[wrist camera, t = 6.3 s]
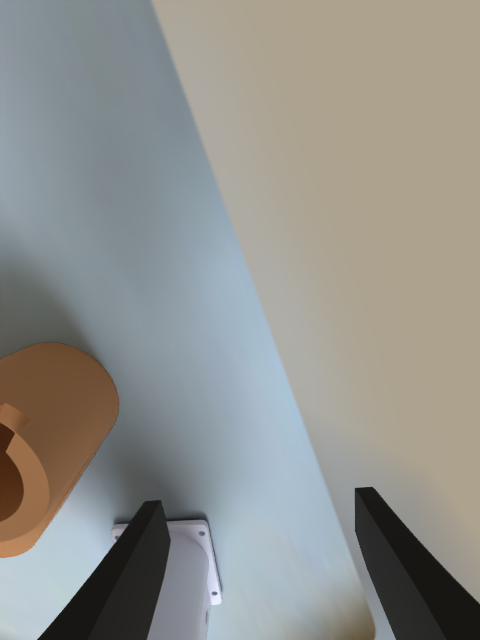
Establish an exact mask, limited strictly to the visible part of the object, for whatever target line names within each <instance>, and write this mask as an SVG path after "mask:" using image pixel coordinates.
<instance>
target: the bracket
mask: <svg viewBox="0 0 480 640" xmlns="http://www.w3.org/2000/svg"><path fill="white" fill-rule="evenodd" d="M118 411H119V398H118V393H117V390H116V387H115V385H114V382H113V380H112V379H111V377H110V375H109V374H108V373H107V371H106V370H105V369H104V368H103V366H102V365H101V364H100V363H98V362H97V361H96V360H95V359H94V358H93V357H91V356H89V355H88V354H86V353H84V352H83V351H81V350H79V349H77V348H75V347H72V346H69V345H65V344H60V343H38V344H34V345H31V346H28V347H26V348H24V349H21V350H19V351H17V352H15V353H12V354H10V355H8V356H6V357H4V358H1V359H0V558H6V557H13V556H17V555H20V554H22V553H24V552H26V551H28V550H29V549H31V548H32V547H33V546H34V545H35V543H36V542H37V540H38V539H39V538H40V536H41V535H42V534H43V532H44V531H45V529H46V528H47V527H48V525H49V524H50V522H51V521H52V520H53V518H54V517H55V516H56V514H57V513H58V511H59V510H60V509H61V507H62V506H63V504H64V502H65V501H66V499H67V498H68V496H69V495H70V493H71V491H72V490H73V488H74V487H75V485H76V484H77V482H78V480H79V479H80V477H81V476H82V474H83V473H84V471H85V469H86V468H87V466H88V465H89V463H90V461H91V460H92V458H93V457H94V455H95V454H96V452H97V450H98V449H99V447H100V446H101V444H102V443H103V441H104V439H105V438H106V436H107V435H108V433H109V432H110V430H111V428H112V427H113V425H114V423H115V421H116V419H117V416H118Z"/></svg>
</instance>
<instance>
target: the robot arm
mask: <svg viewBox="0 0 480 640" xmlns="http://www.w3.org/2000/svg"><path fill="white" fill-rule="evenodd" d="M110 532H111V536H112V539H113V542H114V545H113V546H112V548H111V549H110V550H109V552H108V553H107V554H106V556H105V557H104V558H103V560H102V561H101V562H100V564H99V565H98V566H97V568H96V569H95V570H94V572H93V573H92V574H91V576H90V577H89V578H88V579H87V581H86V582H85V583H84V584H83V586H82V587H81V588H80V589H79V591H78V592H77V593H76V594H75V596H74V597H73V598H72V599H71V601H70V602H69V603H68V604H67V606H66V607H65V608H64V609H63V610H62V612H61V613H60V614H59V615H58V616H57V617H56V619H55V620H54V621H53V622H52V623H51V624H50V626H49V627H48V628H47V629H46V630H45V631H44V633H43V634H42V635H41V636H40V637H39V638H38V639H37V640H207V632H208V623H209V614H210V605H217V604H220V603H221V602H222V592H221V587H220V582H219V577H218V572H217V567H216V562H215V557H214V552H213V547H212V542H211V537H210V532H209V527H208V523H207V522H206V521H205V520H186V521H167V522H166V518H165V514H164V510H163V506H162V502H161V500H157V501H145V502H144V503H143V505H142V506H141V508H140V509H139V510H138V512H137V513H136V515H135V516H134V517H133V519H132V520H131V522H130V523H129V524H116V525H114V526H113V527H112V529H111V531H110ZM355 532H356V535H357V538H358V542H359V545H360V548H361V551H362V554H363V558H364V561H365V564H366V567H367V570H368V572H369V575H370V577H371V579H372V582H373V584H374V587H375V589H376V592H377V594H378V596H379V599H380V602H381V604H382V606H383V609H384V611H385V614H386V616H387V618H388V621H389V624H390V626H391V628H392V631H393V633H394V635H395V638H396V640H480V604H479V603H478V602H477V601H476V600H475V599H474V598H473V597H472V596H471V595H470V594H469V593H468V592H467V591H466V590H465V589H464V588H463V587H462V586H461V585H460V584H459V583H458V582H457V581H456V580H455V579H454V578H453V577H452V576H451V574H450V573H449V572H448V571H447V570H446V569H445V568H444V567H443V566H442V565H441V564H440V563H439V562H438V561H437V560H436V559H435V558H434V557H433V556H432V554H431V553H430V552H429V551H428V550H427V549H426V548H425V547H424V546H423V545H422V544H421V542H420V541H418V539H417V538H416V537H415V536H414V535H413V533H412V532H411V531H410V530H409V529H408V528H407V527H406V526H405V524H404V523H403V522H402V521H401V520H400V519H399V518H398V516H397V515H396V514H395V513H394V512H393V510H392V509H391V508H390V507H389V506H388V504H387V503H386V502H385V501H384V500H383V498H382V497H381V496H380V495H379V493H378V492H377V491H376V490H375V489H374V488H373V487H364V488H355Z"/></svg>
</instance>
